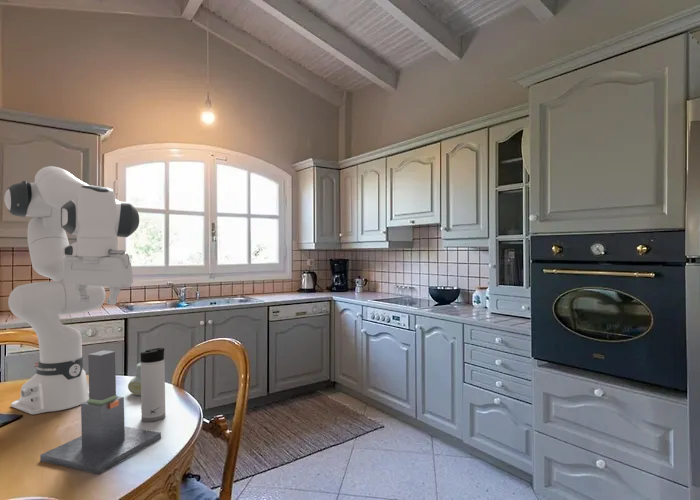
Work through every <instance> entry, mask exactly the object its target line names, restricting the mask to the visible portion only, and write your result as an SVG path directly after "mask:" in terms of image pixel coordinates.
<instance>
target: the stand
mask: <svg viewBox="0 0 700 500" xmlns="http://www.w3.org/2000/svg"><path fill="white" fill-rule="evenodd" d="M80 412H81V414H80V416H81V419H80V421H81V423H80V424H81V425H80V426H81V436H79V437H76V438H74V439H72V440H69V441H68V442H65V443H64V444H63V443H62V444H61V445H59V446H56V447H54V448H52V449H49V450H47V451H45V452H43V453H41V454H39V455H40V456H39V458H40V460H39V461H40V462H42V463H47V464H52V465H55V466H56V465H57V466H60V467H64V468H69V469H73V470H74V469H75V470H78V471H83V472H88V473H91V474H95V475H96V474H97V475H99V474H101V473H103V472H105V471H106V470H109V469H110V468H112V467H113V466H116V464H118V463H121V462H123V461H124V460H126V459H127V458H129V457H131V456H133V455H135V454H137V453H138V452H139V451H141V450H143V449H145V448H146V447H148V446H151V445H152V444H154V443H155V442H157V441H159V440H160V439H162V433H161V431H155V430H154V431H153V430H147V429H143V428H135V427H129V426H125V397H124V396H121V395H120V396H119V395H117V399H114V400H112V401H109V402H107V403H104V404H102V405H100V404H93V403H89V400H88V401H86V402H83V403H81V405H80Z"/></svg>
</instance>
